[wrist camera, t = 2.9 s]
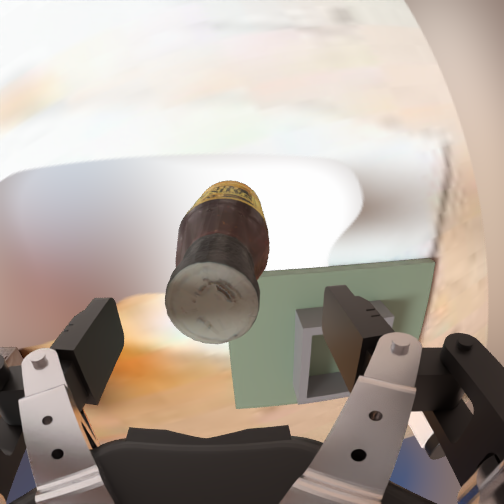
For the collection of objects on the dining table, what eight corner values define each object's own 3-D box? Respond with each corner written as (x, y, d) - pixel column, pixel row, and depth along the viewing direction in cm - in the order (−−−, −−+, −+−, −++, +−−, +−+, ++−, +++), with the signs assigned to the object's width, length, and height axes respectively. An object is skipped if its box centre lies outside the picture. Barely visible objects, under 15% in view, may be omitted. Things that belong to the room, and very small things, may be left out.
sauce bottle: (250, 171, 30) (282, 206, 11) (266, 229, 32) (314, 341, 13) (188, 190, 30) (120, 255, 11) (206, 246, 32) (178, 374, 13)
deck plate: (429, 258, 34) (453, 274, 29) (401, 376, 41) (416, 398, 36) (223, 273, 33) (221, 296, 28) (235, 401, 40) (236, 430, 34)
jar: (430, 410, 46) (456, 452, 34) (396, 419, 45) (421, 466, 34) (447, 377, 43) (480, 420, 31) (413, 385, 42) (445, 434, 31)
